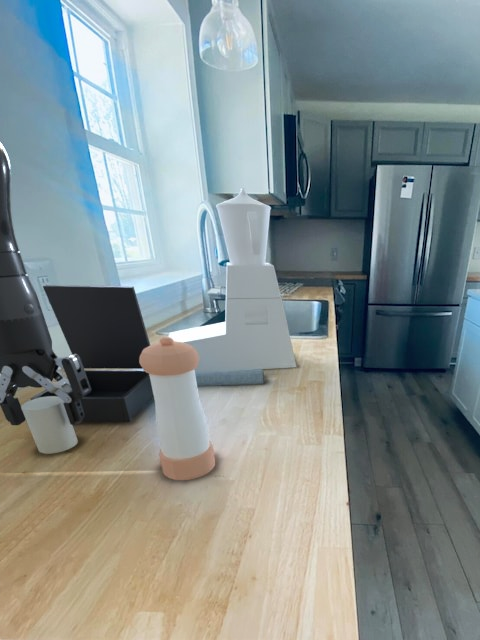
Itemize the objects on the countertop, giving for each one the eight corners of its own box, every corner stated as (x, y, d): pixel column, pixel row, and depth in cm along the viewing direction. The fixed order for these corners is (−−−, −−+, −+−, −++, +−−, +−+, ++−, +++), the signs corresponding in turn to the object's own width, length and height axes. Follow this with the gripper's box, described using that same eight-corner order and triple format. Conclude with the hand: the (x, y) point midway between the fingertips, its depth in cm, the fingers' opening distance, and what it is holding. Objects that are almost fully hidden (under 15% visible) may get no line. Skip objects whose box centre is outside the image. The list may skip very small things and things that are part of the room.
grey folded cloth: (160, 391, 80) (157, 376, 79) (166, 381, 86) (163, 366, 84) (264, 386, 84) (263, 372, 82) (263, 376, 90) (262, 363, 88)
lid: (132, 287, 66) (142, 278, 70) (42, 286, 65) (59, 277, 70) (155, 368, 76) (163, 356, 80) (78, 368, 75) (90, 356, 80)
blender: (161, 377, 88) (121, 176, 69) (170, 356, 103) (140, 187, 85) (297, 370, 95) (294, 186, 76) (286, 351, 111) (281, 195, 92)
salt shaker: (188, 488, 49) (161, 348, 40) (152, 473, 52) (119, 339, 43) (226, 463, 55) (209, 335, 46) (191, 451, 58) (169, 328, 49)
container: (32, 458, 55) (11, 409, 52) (52, 441, 60) (35, 396, 56) (67, 457, 56) (50, 409, 52) (85, 441, 60) (70, 396, 56)
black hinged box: (131, 425, 65) (124, 398, 63) (40, 426, 64) (30, 398, 62) (161, 393, 79) (156, 369, 77) (87, 393, 78) (79, 369, 76)
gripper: (78, 308, 52) (108, 412, 59) (-27, 307, 51) (16, 412, 58) (45, 318, 45) (83, 434, 53) (-77, 317, 44) (-21, 435, 52)
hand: (48, 423), depth 55 cm, fingers open, 8 cm apart
